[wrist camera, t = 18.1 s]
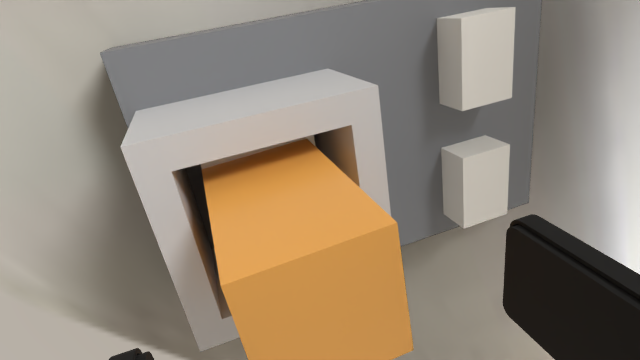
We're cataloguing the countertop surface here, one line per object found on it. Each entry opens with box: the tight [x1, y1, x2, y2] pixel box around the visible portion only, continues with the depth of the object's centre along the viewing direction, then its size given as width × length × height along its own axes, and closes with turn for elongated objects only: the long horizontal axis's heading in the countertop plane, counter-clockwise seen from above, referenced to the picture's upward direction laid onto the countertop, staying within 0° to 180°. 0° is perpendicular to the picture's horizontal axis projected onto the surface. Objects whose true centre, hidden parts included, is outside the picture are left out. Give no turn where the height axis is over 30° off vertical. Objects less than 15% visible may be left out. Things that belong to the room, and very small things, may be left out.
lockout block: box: [202, 138, 414, 360], centre depth 14 cm, size 4×4×8 cm
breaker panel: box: [100, 0, 542, 352], centre depth 21 cm, size 22×14×8 cm, turn 100°
